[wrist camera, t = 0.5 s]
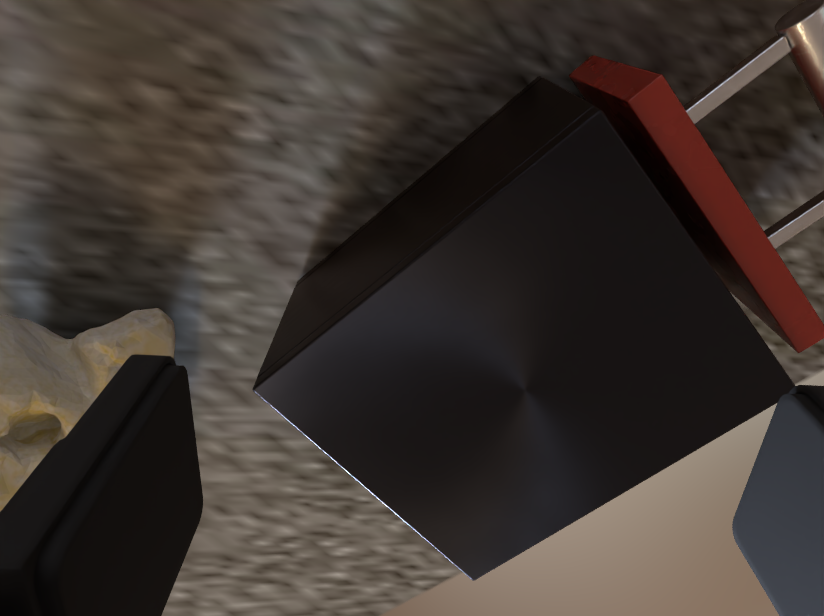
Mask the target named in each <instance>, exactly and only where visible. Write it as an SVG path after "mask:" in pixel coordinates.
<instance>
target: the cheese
mask: <svg viewBox="0 0 824 616" xmlns="http://www.w3.org/2000/svg"><path fill="white" fill-rule="evenodd" d="M174 351H175V329H174V323H173V321H172V320H171V319H170V318H169V317H168V315H166V314H165V313H164V312H163V311H162V310H161V309H159V308H153V309H144V310H135V311H132V312H130V313H128V314H126V315H125V316H123V317H121V318H119V319H117V320H115V321H113V322H110V323H108V324H106V325H103V326H101V327H96V328H91V329H88V330H86V331H85V332H83V333H79V334H78V335H77V336H76V337H75V338H73V339H65V338H63V337H61V336H59V335H57V334H55V333H53V332H51V331H50V330H48V329H47V328H45V327H43V326H41V325H39V324H36V323H34V322H32V321H30V320H28V319H22V318H16V317H12V316H10V315H0V512H1V510H2V509H3V508H4V507H5V505H6V504H7V503H8V502H9V500H10V499H11V498H12V497H13V495H14V494H15V493H16V492H17V491H18V489H19V488H20V487H21V486H22V484H23V483H24V482H25V481H26V479H27V478H28V477H29V476H30V474H31V473H32V472H33V471H34V469H35V468H36V467H37V466H38V464H39V463H40V462H41V461H42V459H43V458H44V457H45V456H46V454H47V453H48V452H49V451H50V449H51V448H52V447H53V446H54V445H55V444H56V443H57V442H58V441H59V440H61V439H63V438H65V437H66V436H67V435H68V433H69V432H70V431H71V430H72V428H73V427H74V426H75V425H76V423H77V422H78V421H79V419H80V418H81V417H82V416H83V414H84V413H85V412H86V411H87V409H88V408H89V407H90V406H91V404H92V403H93V402H94V401H95V399H96V398H97V397H98V396H99V394H100V393H101V392H102V390H103V389H104V388H105V387H106V385H107V384H108V383H109V382H110V380H111V379H112V378H113V377H114V375H115V374H116V373H117V372H118V370H119V369H120V368H121V366H122V365H123V364H124V363H125V361H126V360H127V359H128V358H129V357H130V356H131V355H134V354H139V355H161V356H171V357H172V358H173V359H174Z"/></svg>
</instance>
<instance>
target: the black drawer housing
mask: <svg viewBox="0 0 824 616" xmlns="http://www.w3.org/2000/svg"><path fill="white" fill-rule="evenodd" d="M794 387H795V384H794V383H793V382H792V380H791V379H790V377H789V376H788V374H787V373H786V372H785V370H784V369H783V367H782V366H781V364H780V363H779V362H778V360H777V359H776V357H775V356H774V355H773V353H772V352H771V350H770V349H769V347H768V346H767V345H766V343H765V342H764V340H763V339H762V337H761V336H760V335H759V333H758V332H757V330H756V329H755V327H754V326H753V325H752V323H751V322H750V320H749V319H748V317H747V316H746V315H745V313H744V312H743V310H742V309H741V308H740V306H739V305H738V303H737V302H736V300H735V299H734V298H733V296H732V295H731V293H730V292H729V290H728V289H727V288H726V286H725V285H724V283H723V282H722V280H721V279H720V278H719V276H718V275H717V273H716V272H715V270H714V269H713V268H712V266H711V265H710V263H709V262H708V260H707V259H706V258H705V256H704V255H703V253H702V252H701V251H700V249H699V248H698V246H697V245H696V243H695V242H694V241H693V239H692V238H691V236H690V235H689V233H688V232H687V231H686V229H685V228H684V226H683V225H682V223H681V222H680V221H679V219H678V218H677V216H676V215H675V213H674V212H673V211H672V209H671V208H670V206H669V205H668V203H667V202H666V201H665V199H664V198H663V196H662V195H661V194H660V192H659V191H658V189H657V188H656V186H655V185H654V184H653V182H652V181H651V179H650V178H649V176H648V175H647V174H646V172H645V171H644V169H643V168H642V166H641V165H640V164H639V162H638V161H637V159H636V158H635V156H634V155H633V154H632V152H631V151H630V149H629V148H628V147H627V145H626V144H625V142H624V141H623V139H622V138H621V137H620V135H619V134H618V132H617V131H616V129H615V128H614V127H613V125H612V124H611V122H610V121H609V119H608V118H607V117H606V115H605V114H604V112H603V111H602V110H600V109H598V108H597V107H595V106H594V105H592V104H590V103H588V102H587V101H585V100H583V99H581V98H579V97H577V96H576V95H574V94H572V93H570V92H568V91H567V90H565V89H563V88H561V87H559V86H557V85H556V84H554V83H552V82H550V81H548V80H547V79H545V78H542V77H540V76H539V77H537V78H536V79H535V80H534V81H533V82H531V83H530V84H529V85H528V86H527V87H526V88H524V89H523V90H522V91H521V92H520V93H518V94H517V95H516V96H515V97H514V98H513V99H511V100H510V101H509V102H508V103H507V104H506V105H504V106H503V107H502V108H501V109H500V110H498V111H497V112H496V113H495V114H494V115H493V116H491V117H490V118H489V119H488V120H487V121H486V122H484V123H483V124H482V125H481V126H480V127H478V128H477V129H476V130H475V131H474V132H473V133H471V134H470V135H469V136H468V137H467V138H466V139H464V140H463V141H462V142H461V143H460V144H459V145H457V146H456V147H455V148H454V149H453V150H451V151H450V152H449V153H448V154H447V155H446V156H444V157H443V158H442V159H441V160H440V161H439V162H437V163H436V164H435V165H434V166H433V167H431V168H430V169H429V170H428V171H427V172H426V173H424V174H423V175H422V176H421V177H420V178H419V179H417V180H416V181H415V182H414V183H413V184H411V185H410V186H409V187H408V188H407V189H406V190H404V191H403V192H402V193H401V194H400V195H399V196H397V197H396V198H395V199H394V200H393V201H391V202H390V203H389V204H388V205H387V206H386V207H384V208H383V209H382V210H381V211H380V212H379V213H377V214H376V215H375V216H374V217H373V218H372V219H370V220H369V221H368V222H367V223H366V224H364V225H363V226H362V227H361V228H360V229H359V230H357V231H356V232H355V233H354V234H353V235H352V236H350V237H349V238H348V239H347V240H346V241H344V242H343V243H342V244H341V245H340V246H339V247H337V248H336V249H335V250H334V251H333V252H332V253H330V254H329V255H328V256H327V257H326V258H324V259H323V260H322V261H321V262H320V263H319V264H317V265H316V266H315V267H314V268H313V269H312V270H310V271H309V272H308V273H307V274H306V275H304V276H303V277H302V278H301V279H300V280H299V281H298V282H297V284H296V287H295V288H294V291H293V293H292V295H291V298H290V300H289V303H288V305H287V307H286V310H285V312H284V315H283V317H282V319H281V322H280V324H279V326H278V329H277V331H276V334H275V336H274V338H273V341H272V343H271V346H270V348H269V350H268V353H267V355H266V358H265V360H264V362H263V365H262V367H261V369H260V372H259V374H258V377H257V380H256V382H255V385H254V387H253V391H254V392H255V393H256V394H257V395H258V396H260V397H261V398H262V399H263V400H264V401H265V402H267V403H268V404H269V405H270V406H271V407H272V408H273V409H275V410H276V411H277V412H278V413H279V414H280V415H282V416H283V417H284V418H285V419H286V420H287V421H289V422H290V423H291V424H292V425H293V426H294V427H295V428H297V429H298V430H299V431H300V432H301V433H302V434H304V435H305V436H306V437H307V438H308V439H309V440H311V441H312V442H313V443H314V444H315V445H316V446H317V447H319V448H320V449H321V450H322V451H323V452H324V453H326V454H327V455H328V456H329V457H330V458H331V459H333V460H334V461H335V462H336V463H337V464H338V465H339V466H341V467H342V468H343V469H344V470H345V471H346V472H348V473H349V474H350V475H351V476H352V477H353V478H355V479H356V480H357V481H358V482H359V483H360V484H361V485H363V486H364V487H365V488H366V489H367V490H368V491H370V492H371V493H372V494H373V495H374V496H375V497H377V498H378V499H379V500H380V501H381V502H382V503H383V504H385V505H386V506H387V507H388V508H389V509H390V510H392V511H393V512H394V513H395V514H396V515H397V516H399V517H400V518H401V519H402V520H403V521H404V522H405V523H407V524H408V525H409V526H410V527H411V528H412V529H414V530H415V531H416V532H417V533H418V534H419V535H421V536H422V537H423V538H424V539H425V540H426V541H427V542H429V543H430V544H431V545H432V546H433V547H434V548H436V549H437V550H438V551H439V552H440V553H441V554H443V555H444V556H445V557H446V558H447V559H448V560H449V561H451V562H452V563H453V564H454V565H455V566H456V567H458V568H459V569H460V570H461V571H462V572H463V573H465V574H466V575H467V576H468V577H469V578H470V579H471V580H476V579H478V578H479V577H481V576H483V575H484V574H486V573H488V572H490V571H491V570H493V569H495V568H496V567H498V566H500V565H501V564H503V563H505V562H507V561H508V560H510V559H512V558H513V557H515V556H517V555H519V554H520V553H522V552H524V551H525V550H527V549H529V548H530V547H532V546H534V545H536V544H537V543H539V542H541V541H542V540H544V539H546V538H548V537H549V536H551V535H553V534H554V533H556V532H558V531H559V530H561V529H563V528H564V527H566V526H568V525H570V524H571V523H573V522H575V521H576V520H578V519H580V518H582V517H583V516H585V515H587V514H588V513H590V512H592V511H593V510H595V509H597V508H599V507H600V506H602V505H604V504H605V503H607V502H609V501H610V500H612V499H614V498H616V497H617V496H619V495H621V494H622V493H624V492H626V491H628V490H629V489H631V488H633V487H634V486H636V485H638V484H639V483H641V482H643V481H645V480H646V479H648V478H650V477H651V476H653V475H655V474H657V473H658V472H660V471H661V470H663V469H665V468H667V467H669V466H670V465H672V464H674V463H675V462H677V461H679V460H680V459H682V458H684V457H686V456H687V455H689V454H691V453H692V452H694V451H696V450H697V449H699V448H701V447H702V446H704V445H706V444H708V443H709V442H711V441H713V440H714V439H716V438H718V437H720V436H721V435H723V434H724V433H726V432H728V431H730V430H731V429H733V428H735V427H737V426H738V425H740V424H742V423H743V422H745V421H747V420H749V419H750V418H752V417H754V416H755V415H757V414H759V413H761V412H762V411H763V410H766V409H767V408H769V407H771V406H772V405H774V404H776V403H778V401H779V399H780V397H782V396H783V395H784V394H789V392H790V390H792V389H793V388H794Z"/></svg>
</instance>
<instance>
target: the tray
mask: <svg viewBox="0 0 824 616" xmlns="http://www.w3.org/2000/svg"><path fill="white" fill-rule="evenodd" d="M775 31H776V33H777V34H778V36H774V37H773V38H771V39H770V40H769V41H767V42H766V43H765V44H764V45H762V46H761V47H760V48H758V49H757V50H756V51H754V52H753V53H752V54H751V55H749V56H748V57H747V58H745V59H744V60H743V61H741V62H740V63H739V64H738V65H736V66H735V67H734V68H732V69H731V70H730V71H728V72H727V73H726V74H725V75H723V76H722V77H721V78H719V79H718V80H717V81H716V82H714V83H713V84H712V85H710V86H709V87H708V88H706V89H705V90H704V91H703V92H701V93H700V94H699V95H697V96H696V97H695V98H693V99H692V100H691V101H690V102H688V103H687V104H686V105H684V106H682V104H681V103H680V101H679V99H678V98H677V96H676V95H675V93H674V92H673V90H672V89H671V87H670V86H669V84H668V82H667V81H666V79H665V78H664V76H663V75H662V74H659V73H655V72H651V71H648V70H644V69H640V68H637V67H633V66H630V65H626V64H622V63H619V62H615V61H611V60H608V59H604V58H601V57H597V56H591V57H590V58H589V59H587V60H586V61H585V62H584V63H583V64H582V65H580V66H579V67H578V68H577V69H576V70H574V71H573V72H572V73H571V74H570V75H569V77H570V78H571V80H572V81H573V83H574V84H575V86H576V87H577V88H578V90H579V91H580V93H581V94H582V95H583V97H584V98H585V100H586V101H587V102H588V103H590V104H592V105H594V106H595V107H597V108H598V109H600V110H602V111H603V112H604V114H605V115H606V117H607V118H608V119H609V121H610V122H611V124H612V125H613V127H614V128H615V129H616V131H617V132H618V134H619V135H620V137H621V138H622V139H623V141H624V142H625V144H626V145H627V147H628V148H629V149H630V151H631V152H632V154H633V155H634V156H635V158H636V159H637V161H638V162H639V164H640V165H641V166H642V168H643V169H644V171H645V172H646V174H647V175H648V176H649V178H650V179H651V181H652V182H653V184H654V185H655V186H656V188H657V189H658V191H659V192H660V194H661V195H662V196H663V198H664V199H665V201H666V202H667V203H668V205H669V206H670V208H671V209H672V211H673V212H674V213H675V215H676V216H677V218H678V219H679V221H680V222H681V223H682V225H683V226H684V228H685V229H686V231H687V232H688V233H689V235H690V236H691V238H692V239H693V241H694V242H695V243H696V245H697V246H698V248H699V249H700V251H701V252H702V253H703V255H704V256H705V258H706V259H707V260H708V262H709V263H710V265H711V266H712V268H713V269H714V270H715V272H716V273H717V275H718V276H719V278H720V279H721V280H722V282H723V283H724V285H725V286H726V288H727V289H728V290H729V291H730V292H731V293H732V294H733V295H734V296H735V297H737V298H738V299H739V300H740V301H741V302H742V303H743V304H744V305H745V306H747V307H748V308H749V309H750V310H751V311H752V312H753V313H754V314H755V315H757V316H758V317H759V318H760V319H761V320H762V321H763V322H764V323H765V324H767V325H768V326H769V327H770V328H771V329H772V330H773V331H774V332H775V333H777V334H778V335H779V336H780V337H781V338H782V339H783V340H784V341H785V342H787V343H788V344H789V345H790V346H791V347H792V348H793V349H794V350H795V351H797V352H798V353H800V352H802V351H803V350H805V349H807V348H808V347H810V346H812V345H813V344H815V343H817V342H818V341H820V340H822V339H823V338H824V324H823V323H822V321H821V319H820V318H819V316H818V315H817V313H816V312H815V310H814V309H813V307H812V306H811V304H810V302H809V301H808V299H807V298H806V296H805V295H804V293H803V292H802V290H801V288H800V287H799V285H798V284H797V282H796V281H795V279H794V278H793V276H792V275H791V273H790V271H789V270H788V268H787V267H786V265H785V264H784V262H783V261H782V259H781V257H780V256H779V254H778V253H777V251H776V250H775V248H777V247H778V246H780V245H781V244H783V243H784V242H786V241H787V240H789V239H790V238H792V237H793V236H795V235H796V234H798V233H799V232H801V231H802V230H804V229H805V228H807V227H808V226H810V225H812V224H813V223H815V222H816V221H818V220H819V219H821V218H822V217H824V191H822V192H821V193H819V194H818V195H816V196H815V197H813V198H812V199H810V200H809V201H807V202H806V203H804V204H803V205H801V206H800V207H799V208H797V209H796V210H794V211H793V212H791V213H790V214H788V215H787V216H785V217H784V218H782V219H781V220H779V221H778V222H776V223H775V224H773V225H772V226H770V227H769V228H768V229H766V230H765V231H763V230H762V228H761V226H760V225H759V223H758V222H757V220H756V219H755V217H754V216H753V214H752V213H751V211H750V209H749V208H748V206H747V205H746V203H745V202H744V200H743V199H742V197H741V196H740V194H739V192H738V191H737V189H736V188H735V186H734V185H733V183H732V182H731V180H730V178H729V177H728V175H727V174H726V172H725V171H724V169H723V168H722V166H721V165H720V163H719V161H718V160H717V158H716V157H715V155H714V154H713V152H712V151H711V149H710V147H709V146H708V144H707V143H706V141H705V140H704V138H703V137H702V135H701V134H700V132H699V130H698V129H697V127H696V126H695V123H697V122H698V121H699V120H701V119H702V118H703V117H705V116H706V115H707V114H709V113H710V112H711V111H713V110H714V109H715V108H716V107H718V106H719V105H720V104H722V103H723V102H724V101H726V100H727V99H728V98H730V97H731V96H732V95H734V94H735V93H736V92H738V91H739V90H740V89H742V88H743V87H744V86H746V85H747V84H748V83H750V82H751V81H752V80H753V79H755V78H756V77H757V76H759V75H760V74H761V73H763V72H764V71H765V70H767V69H768V68H769V67H771V66H772V65H773V64H775V63H776V62H777V61H779V60H780V59H781V58H783V57H784V56H785V55H786V54H789V56H790V58H791V60H792V61H793V63H794V65H795V67H796V69H797V70H798V72H799V74H800V76H801V78H802V79H803V81H804V83H805V85H806V87H807V88H808V90H809V92H810V94H811V96H812V97H813V99H814V101H815V103H816V105H817V106H818V108H819V110H820V112H821V114H822V115H823V117H824V0H806V1H804V2H802V3H800V4H799V5H797V6H795V7H794V8H792V9H791V10H790V11H788V12H787V13H786V14H785V15H784V16H782V17H781V18H780V19H779V20H778V22H777V23H776V25H775Z"/></svg>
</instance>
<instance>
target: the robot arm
mask: <svg viewBox="0 0 824 616" xmlns="http://www.w3.org/2000/svg"><path fill="white" fill-rule="evenodd" d="M202 508H203V494H202V486H201V478H200V470H199V462H198V454H197V446H196V438H195V430H194V423H193V415H192V407H191V399H190V391H189V383H188V375H187V370H186V368H185V367H184V366H176V364H175V361H174V359H173V358H172V357H171V356H161V355H139V354H134V355H131V356H130V357H129V358H128V359H127V360H126V361H125V363H124V364H123V365H122V366H121V368H120V369H119V370H118V372H117V373H116V374H115V375H114V377H113V378H112V379H111V380H110V382H109V383H108V384H107V385H106V387H105V388H104V389H103V390H102V392H101V393H100V394H99V396H98V397H97V398H96V399H95V401H94V402H93V403H92V404H91V406H90V407H89V408H88V409H87V411H86V412H85V413H84V414H83V416H82V417H81V418H80V419H79V421H78V422H77V423H76V425H75V426H74V427H73V428H72V430H71V431H70V432H69V433H68V435H67V436H66V437H65V438H63V439H61V440H59V441H58V442H57V443H56V444H55V445H54V446H53V447H52V448H51V449H50V451H49V452H48V453H47V454H46V456H45V457H44V458H43V459H42V461H41V462H40V463H39V464H38V466H37V467H36V468H35V469H34V471H33V472H32V473H31V474H30V476H29V477H28V478H27V479H26V481H25V482H24V483H23V484H22V486H21V487H20V488H19V489H18V491H17V492H16V493H15V494H14V495H13V497H12V498H11V499H10V500H9V502H8V503H7V504H6V505H5V507H4V508H3V509H2V510H1V512H0V616H161V615H162V612H163V610H164V608H165V605H166V603H167V600H168V598H169V595H170V593H171V590H172V588H173V585H174V583H175V581H176V578H177V576H178V573H179V571H180V568H181V566H182V563H183V561H184V558H185V556H186V554H187V551H188V549H189V546H190V544H191V541H192V539H193V536H194V534H195V531H196V529H197V527H198V524H199V521H200V518H201V514H202ZM732 528H733V535H734V539H735V541H736V543H737V545H738V547H739V548H740V550H741V552H742V553H743V555H744V557H745V559H746V560H747V562H748V564H749V565H750V567H751V569H752V570H753V572H754V574H755V575H756V577H757V579H758V580H759V582H760V584H761V585H762V587H763V589H764V590H765V592H766V594H767V595H768V597H769V599H770V600H771V602H772V604H773V605H774V607H775V609H776V610H777V612H778V614H779V616H824V386H811V385H798V386H795V387H794V388H793V389H792V390H790V392H789V394H784V395H783V396H782V397H780V399H779V401H778V403H777V406H776V409H775V411H774V414H773V416H772V419H771V421H770V424H769V427H768V430H767V432H766V435H765V437H764V440H763V443H762V445H761V448H760V450H759V453H758V456H757V458H756V461H755V463H754V466H753V469H752V471H751V474H750V476H749V479H748V482H747V485H746V487H745V490H744V492H743V495H742V498H741V500H740V503H739V505H738V508H737V511H736V513H735V516H734V519H733V527H732Z"/></svg>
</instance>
